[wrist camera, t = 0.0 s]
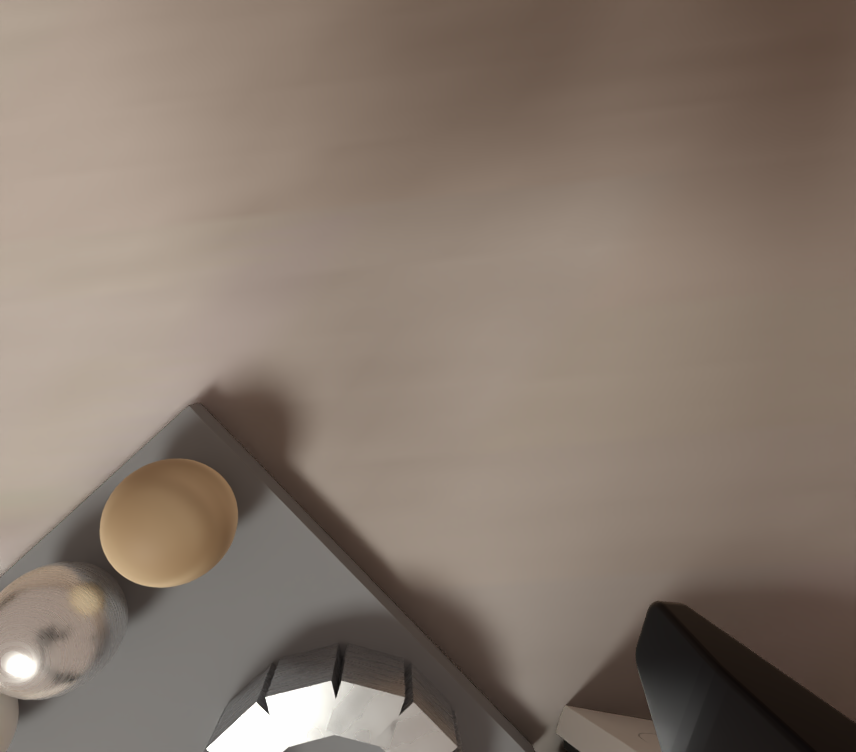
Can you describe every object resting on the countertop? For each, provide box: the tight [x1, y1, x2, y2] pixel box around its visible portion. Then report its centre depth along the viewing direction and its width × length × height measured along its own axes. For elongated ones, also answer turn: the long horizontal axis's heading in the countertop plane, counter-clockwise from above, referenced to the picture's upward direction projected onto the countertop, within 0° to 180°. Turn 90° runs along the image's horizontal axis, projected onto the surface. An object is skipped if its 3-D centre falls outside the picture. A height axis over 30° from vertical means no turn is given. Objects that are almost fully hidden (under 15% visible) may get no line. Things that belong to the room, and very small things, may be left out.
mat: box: [0, 403, 535, 752], centre depth 22 cm, size 16×21×1 cm
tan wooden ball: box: [100, 459, 238, 588], centre depth 19 cm, size 4×4×4 cm
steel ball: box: [0, 561, 128, 700], centre depth 19 cm, size 4×4×4 cm
